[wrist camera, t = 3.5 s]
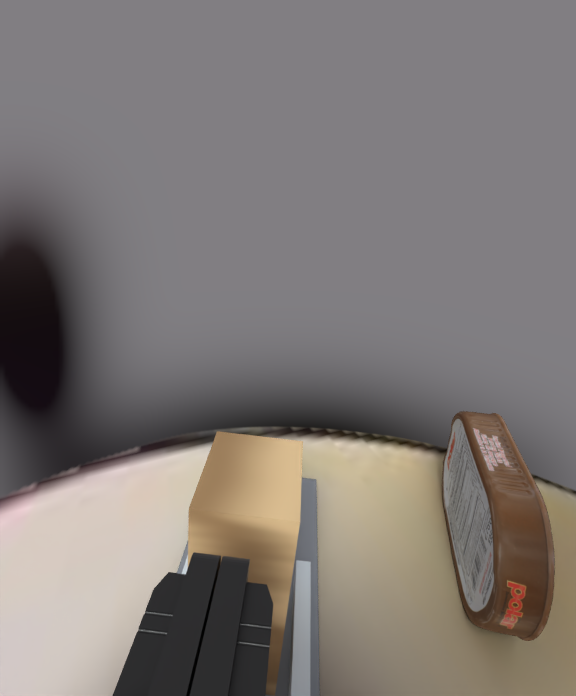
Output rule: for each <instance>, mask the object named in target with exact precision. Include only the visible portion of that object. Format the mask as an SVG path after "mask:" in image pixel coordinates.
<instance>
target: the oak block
mask: <svg viewBox="0 0 576 696" xmlns="http://www.w3.org/2000/svg"><path fill="white" fill-rule="evenodd" d="M302 451H303V441H294V440H286V439H277V438H269V437H260V436H251V435H243V434H234V433H225V432H217V434H216V436H215V439H214V442H213V445H212V447H211V450H210V453H209V455H208V458H207V461H206V464H205V466H204V469H203V472H202V474H201V477H200V480H199V483H198V485H197V488H196V491H195V494H194V496H193V499H192V502H191V504H190V507H189V530H188V566H189V563H190V560H191V557H192V554H193V553H194V552H196V553H204V554H212V555H220V556H221V560H222V557H223V556H229V557H237V558H245V559H250V566H249V575H248V582H251V583H259V584H267V586H268V589H269V592H270V595H271V598H272V601H273V615H272V626H271V638H270V648H269V661H268V672H267V684H266V695H274V696H275V691H276V684H277V678H278V671H279V664H280V657H281V650H282V643H283V636H284V630H285V623H286V616H287V609H288V602H289V595H290V588H291V581H292V575H293V568H294V561H295V554H296V547H297V540H298V533H299V526H300V512H301V482H302Z"/></svg>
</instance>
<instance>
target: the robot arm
mask: <svg viewBox="0 0 576 696" xmlns="http://www.w3.org/2000/svg"><path fill="white" fill-rule="evenodd" d="M249 566H250V559H245V558H237V557H229V556H223V557H222V560H221V556H220V555H212V554H204V553H196V552H194V553H193V554H192V557H191V560H190V563H189V566H188V569H187V572H186V574H178V573H170V572H169V573H168V574H167V575H166V576H165V577H164V578H163V579H162V580H161V582H160V583H159V584H158V585H157V586H156V587H155V588H154V590H153V592H152V595H151V598H150V600H149V603H148V605H147V608H146V611H145V615H144V616H143V618H142V621H141V624H140V626H139V630H138V632H137V634H136V636H135V639H134V642H133V644H132V647H131V649H130V652H129V655H128V657H127V660H126V662H125V665H124V668H123V670H122V673H121V675H120V678H119V681H118V683H117V686H116V688H115V691H114V694H113V696H265V695H266V684H267V672H268V661H269V648H270V638H271V626H272V615H273V601H272V598H271V595H270V592H269V589H268V586H267V584H259V583H251V582H248V575H249Z"/></svg>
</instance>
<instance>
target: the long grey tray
mask: <svg viewBox="0 0 576 696" xmlns="http://www.w3.org/2000/svg"><path fill="white" fill-rule="evenodd" d="M187 569H188V542H187V545H186V548H185V550H184V553H183V556H182V559H181V562H180V565H179V568H178V571H177V573H178V574H186V572H187ZM265 696H274V695H265ZM275 696H320V686H319V622H318V559H317V495H316V479H308V478H302V482H301V512H300V526H299V533H298V540H297V547H296V554H295V561H294V568H293V575H292V581H291V588H290V595H289V602H288V609H287V616H286V623H285V630H284V636H283V643H282V650H281V657H280V664H279V671H278V678H277V684H276V691H275Z"/></svg>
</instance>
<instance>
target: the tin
mask: <svg viewBox="0 0 576 696" xmlns="http://www.w3.org/2000/svg"><path fill="white" fill-rule="evenodd" d="M442 490H443V504H444V510H445V516H446V522H447V527H448V533H449V538H450V544H451V549H452V554H453V560H454V565H455V570H456V575H457V580H458V585H459V590H460V595H461V598H462V602H463V605H464V609H465V611H466V613H467V615H468V617H469V619H470V620H471V622H472V623H474V624H475V625H476V626H478V627H480V628H483V629H486V630H490V631H494V632H499V633H504V634H509V635H513V636H518V637H519V638H520V639H522V640H526V641H530V640H534V639H535V638H537V637H538V636H539V635H540V634H541V632H542V631H543V629H544V627H545V625H546V623H547V620H548V617H549V613H550V610H551V604H552V599H553V589H554V575H555V568H554V566H555V558H554V547H553V538H552V532H551V526H550V521H549V517H548V512H547V509H546V506H545V503H544V500H543V498H542V495H541V493H540V491H539V489H538V487H537V485H536V483H535V481H534V479H533V477H532V475H531V473H530V471H529V469H528V467H527V465H526V463H525V462H524V459H523V458H522V456H521V454H520V452H519V450H518V448H517V445H516V444H515V442H514V440H513V437H512V436H511V433H510V432H509V429H508V427H507V425H506V423H505V422H504V420H503V418H502V417H501V416H500V415H498V414H496V413H492V414H484V413H476V412H459V413H457V414H456V415H455V416H454V418H453V420H452V424H451V434H450V438H449V443H448V448H447V452H446V454H445V457H444V462H443V476H442Z"/></svg>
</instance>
